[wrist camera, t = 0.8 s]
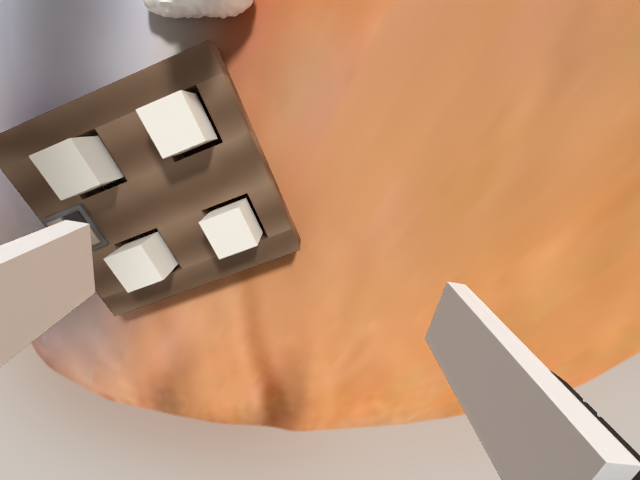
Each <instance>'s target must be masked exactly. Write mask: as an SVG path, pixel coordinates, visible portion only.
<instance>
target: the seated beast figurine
mask: <svg viewBox="0 0 640 480" xmlns="http://www.w3.org/2000/svg"><path fill="white" fill-rule="evenodd" d="M143 1H144V4H145V6H146V7H147V9H148V10H149V11H151V12H153V13H155V14H158V15H161V16H163V17H172V18H175V19H178V18H183V17H186V18H188V19H189V18H190V17H193V18H201V17H203V16H207V17H210V18H212V17H216V18H217V17H221V18H222V19H225V18H226V17H227V16H233V17H235V16H237V15H238V14H239V13H243V12H244V11H245V10H246V9H247V8H249V7H250V6H251V5H252V3H253V0H143Z"/></svg>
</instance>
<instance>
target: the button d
mask: <svg viewBox="0 0 640 480" xmlns="http://www.w3.org/2000/svg"><path fill="white" fill-rule="evenodd" d="M198 223H199V224H200V226H201V228H202V230H203V231H204V233H205V235H206V237H207V239H208V240H209V242H210V244H211V246H212V247H213V249H214V251H215V253H216V255H217V256H218V258H219V259H222V258H225V257H228V256H230V255H233V254H236V253H239V252H241V251H244V250H247V249H250V248H252V247H255V246H258V243H259V241H260V238H261V236H262V233H263V232H262V230H261V228H260V226H259V223H258V221H257V219H256V217H255V215H254V213H253V211H252V209H251V207H250V205H249V203H248V200H247V198H244V199H242V200H239V201H236V202H234V203H231V204H228V205H226V206H223V207H221V208H218V209H215V210H213V211H210V212H209V213H208V214H207V215H206V216H205V217H204V218H203V219H202V220H201V221H200V222H198Z"/></svg>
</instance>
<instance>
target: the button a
mask: <svg viewBox="0 0 640 480" xmlns="http://www.w3.org/2000/svg"><path fill="white" fill-rule="evenodd" d="M29 158H30V159H31V160H32V162H33V163H34V164H35V166H36V167H37V169H38V170H39V171H40V173H41V174H42V175H43V177H44V178H45V180H46V181H47V182H48V184H49V185H50V186H51V188H52V189H53V191H54V192H55V193H56V195H57V196H58V197H59V199H60V200H64V199H67V198H70V197H73V196H77V195H80V194H83V193H86V192H89V191H91V190H94V189H96V188H99V187H101V186H103V185H106V184H108V183H111V182H113V181H116V180H118V179H121V178H123V177H124V176H123V174H122V173H121V171H120V169H119V168H118V166H117V165H116V163H115V161H114V160H113V158H112V157H111V155H110V153H109V152H108V150H107V149H106V147H105V145H104V144H103V142H102V141H101V139H100V137H99V136H89V137H76V138H69V139H66V140H64V141H62V142H59V143H57V144H55V145H53V146H50V147H48V148H46V149H43V150H41V151H39V152H36V153H34V154H32V155H30V156H29Z"/></svg>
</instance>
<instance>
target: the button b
mask: <svg viewBox="0 0 640 480" xmlns="http://www.w3.org/2000/svg"><path fill="white" fill-rule="evenodd" d="M104 261H105V262H106V263H107V265H108V266H109V268H110V269H111V270H112V272H113V273H114V274H115V276H116V277H117V278H118V280H119V281H120V283H121V284H122V285H123V287H124V288H125V289H126V291H127V292H128V293H129V292H132V291H134V290H137V289H140V288H143V287H145V286H148V285H151V284H154V283H156V282H159V281H162V280H164V279H165V278H166V277H167V276H168V275H169V273H170V272H171V271H172V270H173V269H174V268H175V267H176V266H177V265H178V262H177V261H176V259H175V258H174V256H173V254H172V253H171V251H170V250H169V248H168V246H167V245H166V243H165V242H164V240H163V238H162V237H161V235H160V234H159V232H156V233H153V234H150V235H148V236H145V237H143V238H140V239H137V240H135V241H132V242H130V243H127V244H124V245H123V246H121V247H120V248H118V249H117V250H116V251H114V252H113V253H111V254H110V255H108V256H107V257H105V258H104Z"/></svg>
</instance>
